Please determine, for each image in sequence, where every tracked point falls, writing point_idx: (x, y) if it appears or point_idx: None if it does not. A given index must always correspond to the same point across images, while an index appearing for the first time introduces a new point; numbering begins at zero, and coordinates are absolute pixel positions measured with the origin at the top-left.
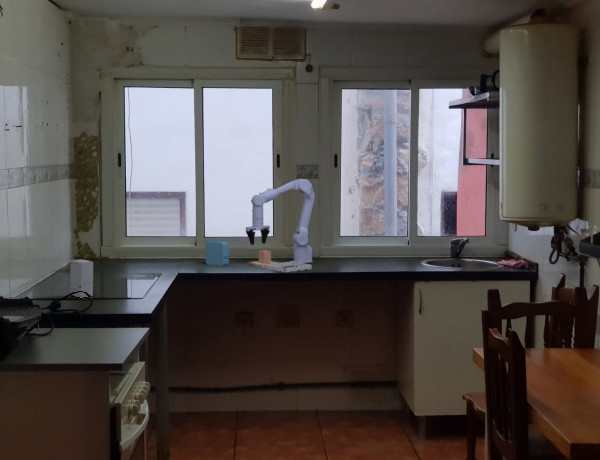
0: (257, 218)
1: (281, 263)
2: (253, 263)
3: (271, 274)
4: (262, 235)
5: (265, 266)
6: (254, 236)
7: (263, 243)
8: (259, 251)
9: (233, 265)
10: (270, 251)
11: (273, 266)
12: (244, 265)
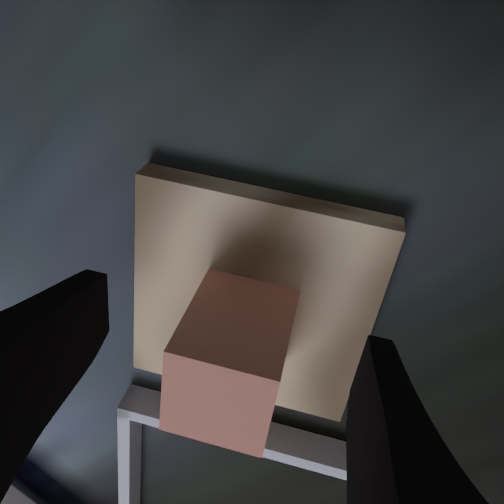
0: None
1: (276, 457)
2: (135, 257)
3: (33, 492)
4: (375, 490)
5: (122, 402)
6: (11, 482)
7: (356, 370)
8: (164, 360)
9: (18, 40)
10: (254, 452)
11: (118, 474)
12: (111, 140)
